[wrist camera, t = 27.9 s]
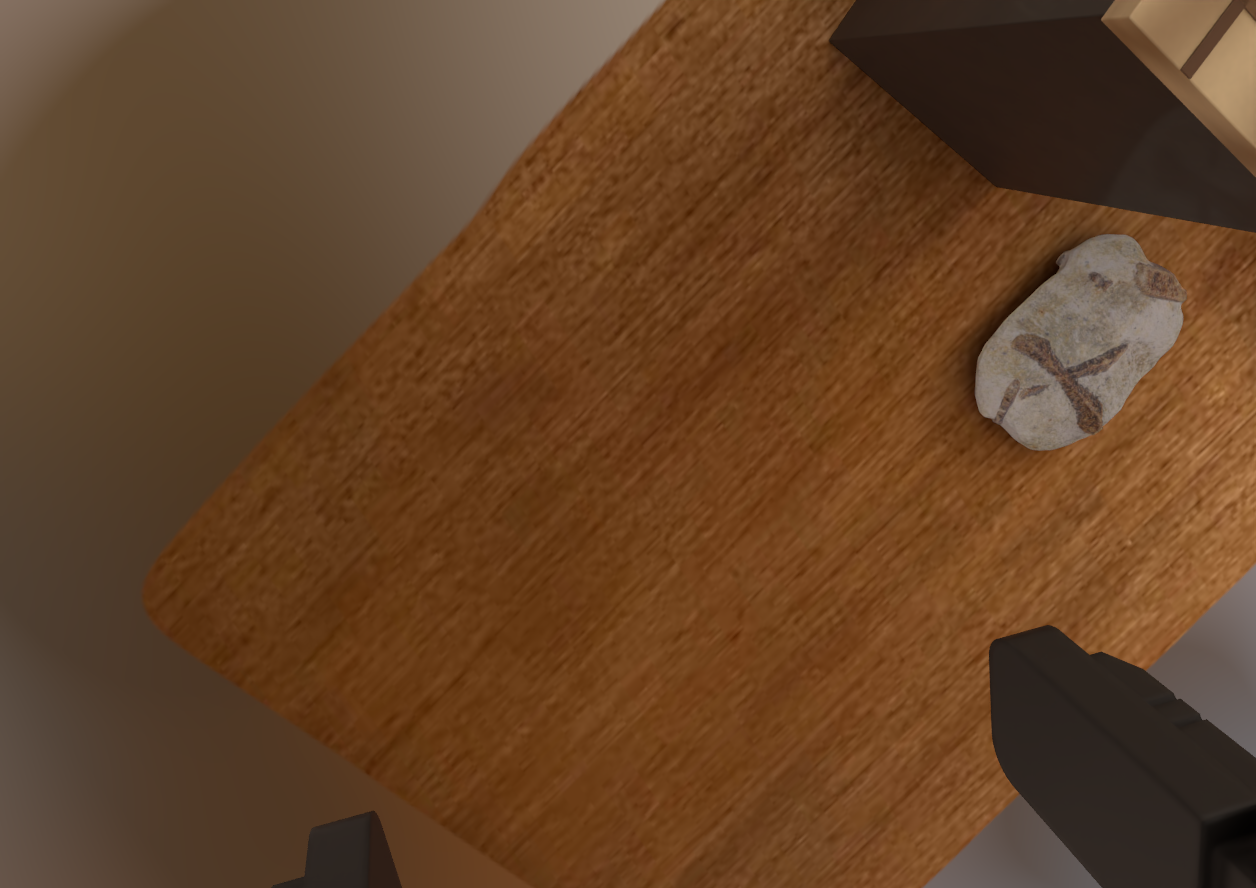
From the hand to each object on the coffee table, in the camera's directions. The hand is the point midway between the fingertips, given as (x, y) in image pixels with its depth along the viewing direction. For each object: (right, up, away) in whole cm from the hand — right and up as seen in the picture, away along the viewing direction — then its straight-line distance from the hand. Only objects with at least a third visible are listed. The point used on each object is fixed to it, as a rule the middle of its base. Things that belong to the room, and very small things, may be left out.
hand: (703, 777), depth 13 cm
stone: (+23, +10, +43) cm, 50 cm away
